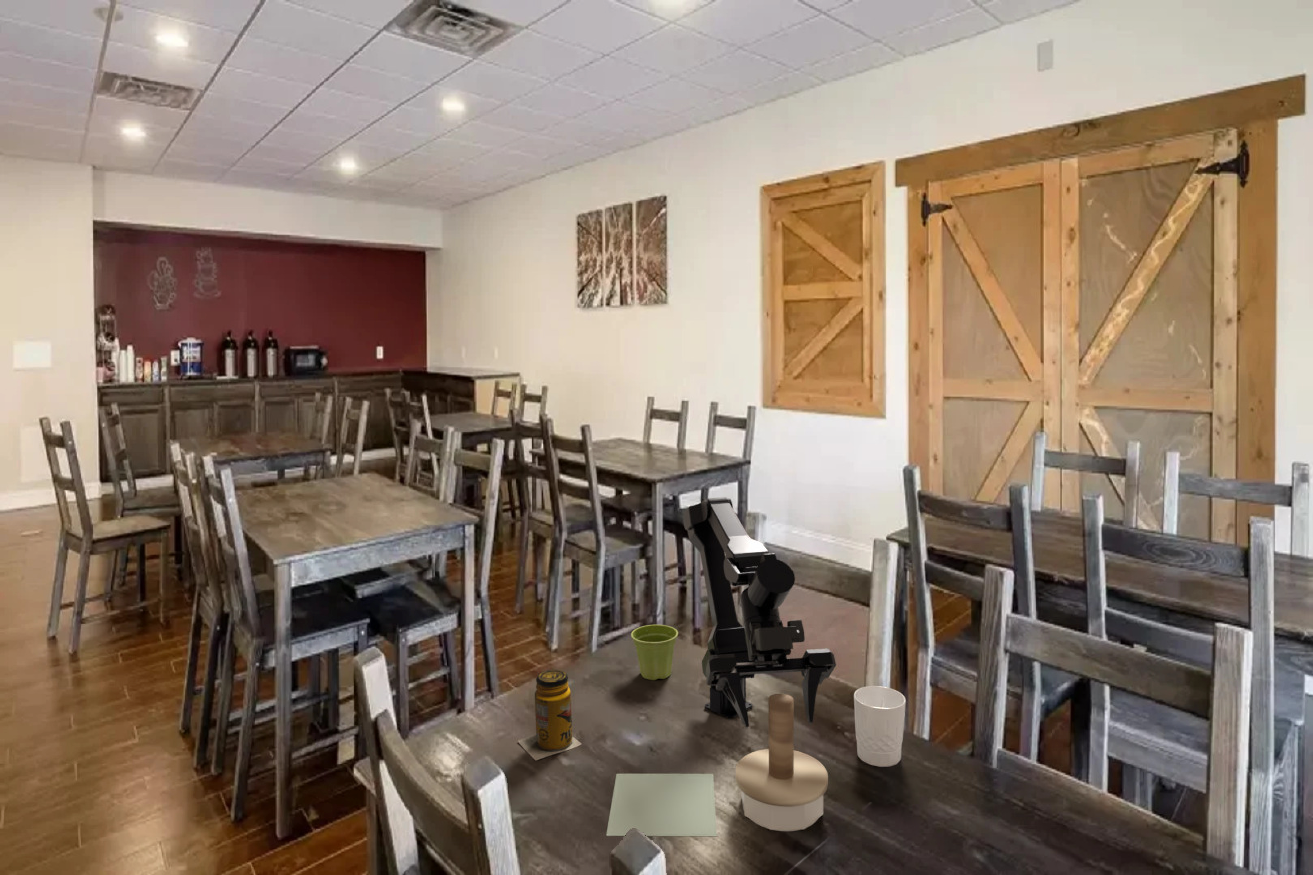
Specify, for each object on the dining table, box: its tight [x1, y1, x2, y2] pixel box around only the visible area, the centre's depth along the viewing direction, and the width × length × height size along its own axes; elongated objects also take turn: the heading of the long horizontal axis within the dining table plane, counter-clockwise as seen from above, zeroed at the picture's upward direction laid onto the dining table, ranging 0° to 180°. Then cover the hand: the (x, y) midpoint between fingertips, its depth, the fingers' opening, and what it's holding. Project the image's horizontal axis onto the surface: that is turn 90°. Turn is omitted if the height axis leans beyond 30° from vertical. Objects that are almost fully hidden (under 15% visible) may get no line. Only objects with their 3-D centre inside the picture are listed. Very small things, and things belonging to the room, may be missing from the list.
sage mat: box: [605, 773, 717, 837], centre depth 112 cm, size 15×15×1 cm
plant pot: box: [630, 624, 679, 681], centre depth 155 cm, size 9×9×9 cm
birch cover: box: [735, 693, 829, 807], centre depth 109 cm, size 13×13×12 cm
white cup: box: [853, 685, 907, 768], centre depth 123 cm, size 8×8×10 cm
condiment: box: [517, 669, 582, 761], centre depth 129 cm, size 7×8×12 cm
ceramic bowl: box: [740, 790, 824, 832], centre depth 110 cm, size 11×11×4 cm
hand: (779, 725), depth 110 cm, fingers open, 9 cm apart
